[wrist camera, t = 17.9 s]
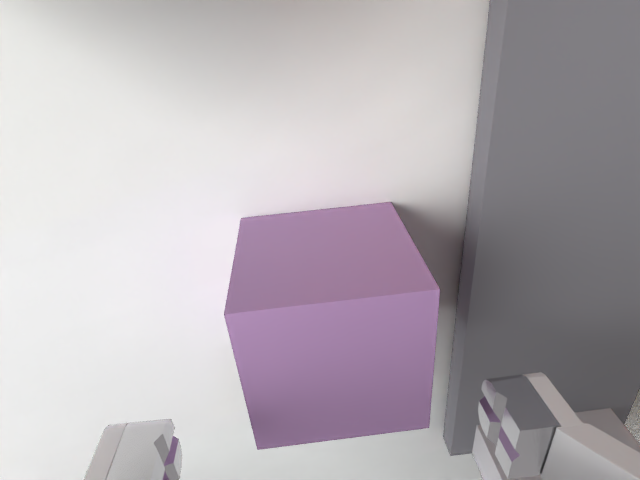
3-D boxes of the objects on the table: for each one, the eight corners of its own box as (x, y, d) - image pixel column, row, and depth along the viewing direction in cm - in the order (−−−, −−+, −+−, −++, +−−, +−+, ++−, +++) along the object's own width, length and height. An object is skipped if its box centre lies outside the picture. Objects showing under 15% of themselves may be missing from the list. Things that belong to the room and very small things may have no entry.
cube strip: (605, 415, 20) (693, 527, 16) (443, 436, 20) (488, 555, 16) (916, -369, 8) (1596, -767, 4) (526, -345, 8) (810, -742, 4)
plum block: (389, 316, 17) (428, 427, 12) (263, 331, 16) (257, 449, 12) (390, 200, 14) (439, 289, 10) (241, 217, 14) (224, 314, 10)
